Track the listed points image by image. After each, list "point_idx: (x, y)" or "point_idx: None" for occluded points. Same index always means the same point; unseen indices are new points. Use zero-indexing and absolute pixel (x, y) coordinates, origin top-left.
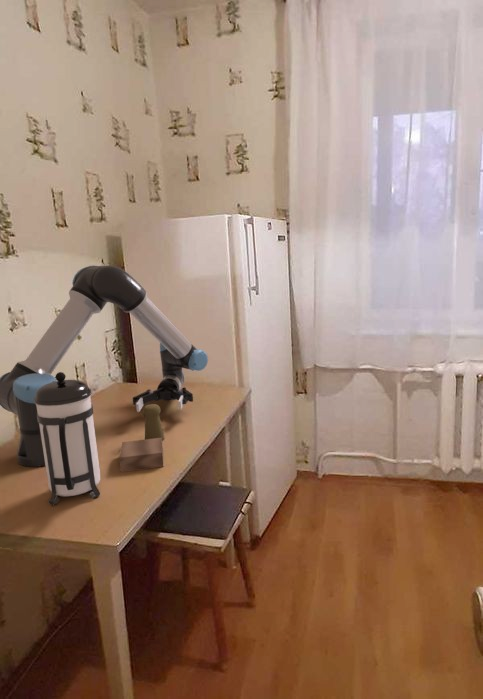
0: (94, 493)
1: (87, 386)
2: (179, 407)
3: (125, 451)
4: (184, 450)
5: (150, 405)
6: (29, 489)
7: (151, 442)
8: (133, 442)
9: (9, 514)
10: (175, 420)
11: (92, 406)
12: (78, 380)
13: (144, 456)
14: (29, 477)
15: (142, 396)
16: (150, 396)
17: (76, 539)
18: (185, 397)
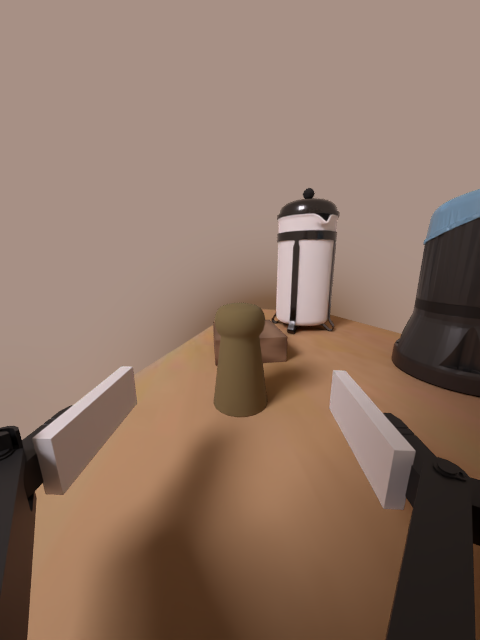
0: (277, 321)
1: (282, 208)
2: (132, 393)
3: (267, 325)
4: (176, 363)
5: (241, 303)
6: (359, 329)
7: None
8: (265, 335)
9: (337, 317)
10: (139, 606)
11: (279, 233)
12: (296, 200)
13: None
14: (390, 339)
15: (454, 512)
16: (395, 595)
17: (265, 309)
18: (26, 445)
